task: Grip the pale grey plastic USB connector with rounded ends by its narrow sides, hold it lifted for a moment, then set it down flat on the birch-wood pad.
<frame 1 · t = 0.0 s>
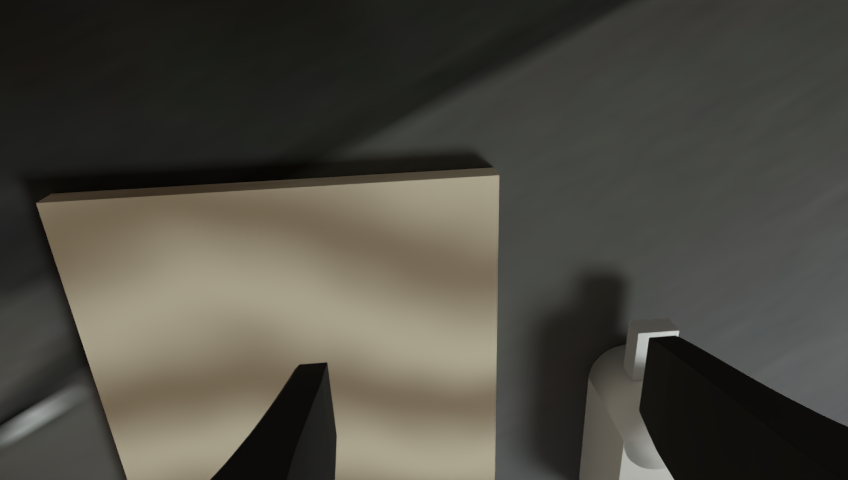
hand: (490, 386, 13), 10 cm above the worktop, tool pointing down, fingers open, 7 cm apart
usb connector: (617, 426, 27), on the worktop
wood pad: (306, 381, 24), on the worktop
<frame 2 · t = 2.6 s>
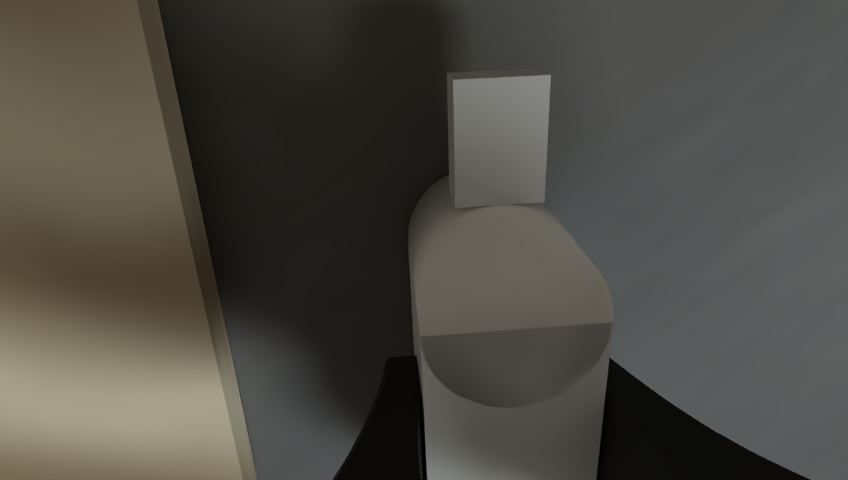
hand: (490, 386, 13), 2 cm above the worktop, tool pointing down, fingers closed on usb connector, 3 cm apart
usb connector: (478, 345, 14), on the worktop, touching gripper
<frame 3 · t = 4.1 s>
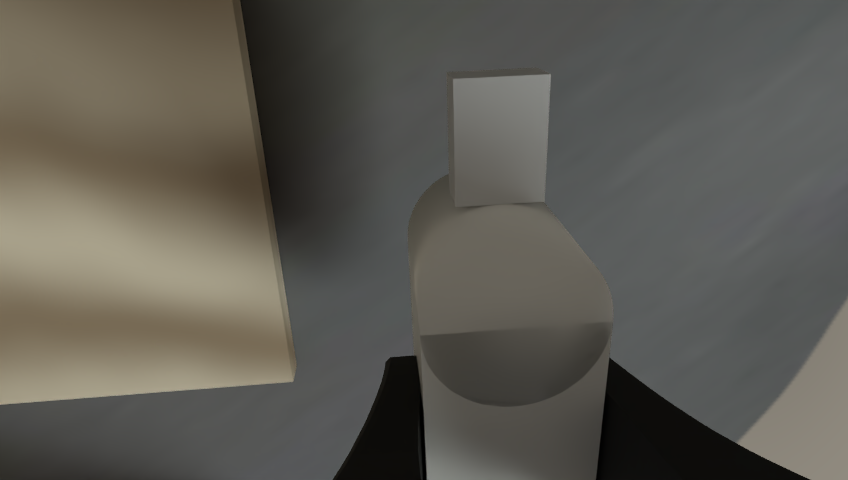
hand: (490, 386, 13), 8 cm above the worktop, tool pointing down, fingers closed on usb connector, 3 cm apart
usb connector: (477, 345, 14), point 7 cm above the worktop, touching gripper
wood pad: (6, 150, 18), on the worktop
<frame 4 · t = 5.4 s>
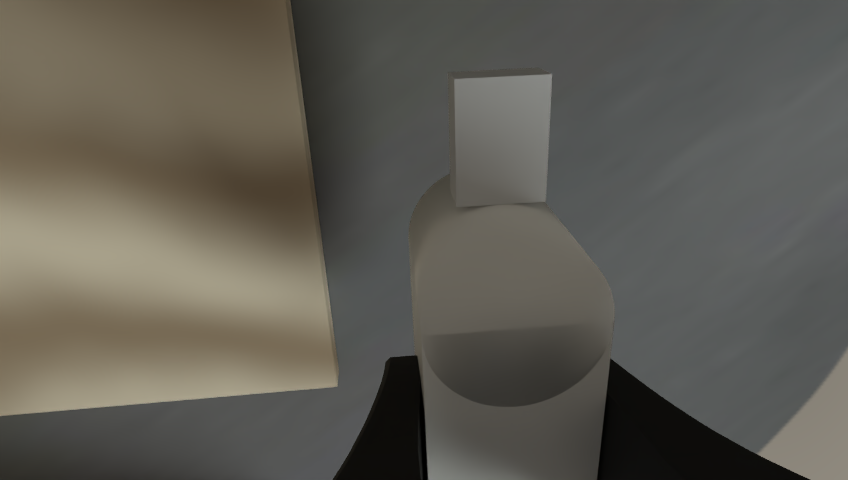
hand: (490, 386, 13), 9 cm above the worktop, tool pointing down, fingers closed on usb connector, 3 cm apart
usb connector: (478, 345, 14), point 7 cm above the worktop, touching gripper
wood pad: (61, 163, 18), on the worktop
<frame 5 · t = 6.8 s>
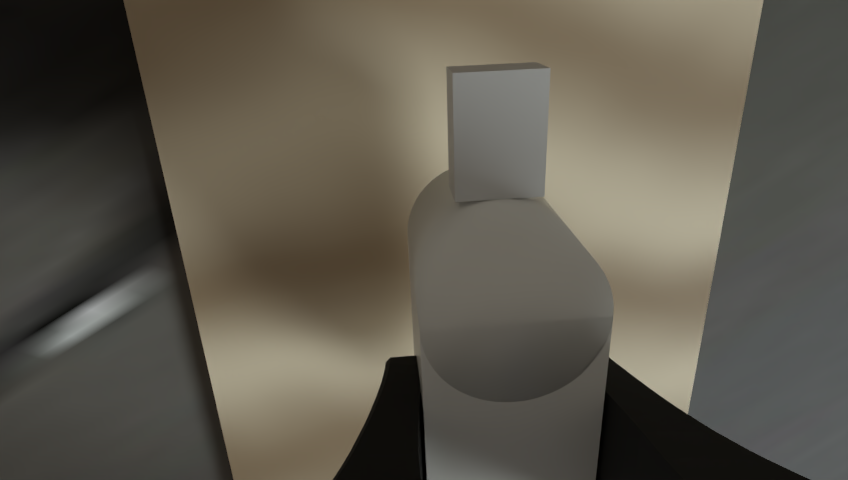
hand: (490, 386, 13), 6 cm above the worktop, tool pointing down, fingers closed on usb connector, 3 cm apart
usb connector: (477, 341, 14), point 4 cm above the worktop, touching gripper
wood pad: (456, 268, 18), on the worktop
when the fingers open (4 cm above the worktop, at t = 8.0 s): usb connector drops 1 cm, resting on wood pad.
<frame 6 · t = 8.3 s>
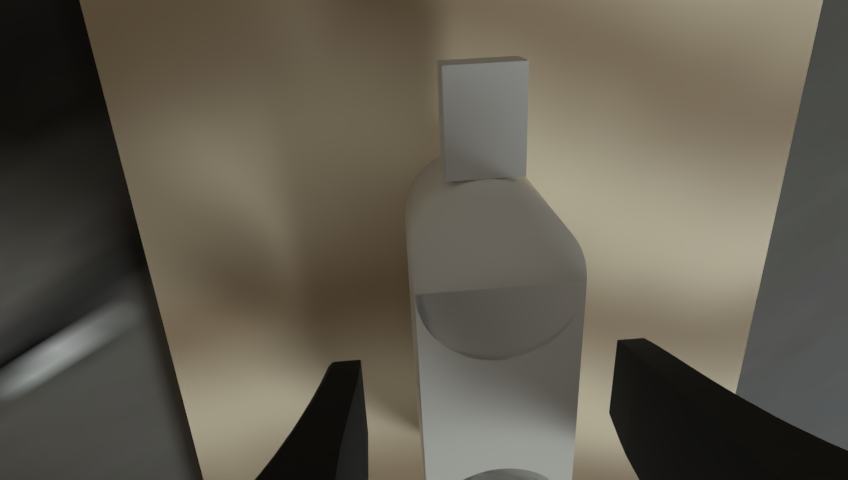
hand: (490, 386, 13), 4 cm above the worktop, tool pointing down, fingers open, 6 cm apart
usb connector: (470, 315, 15), point 1 cm above the worktop, touching wood pad
wood pad: (465, 300, 16), on the worktop
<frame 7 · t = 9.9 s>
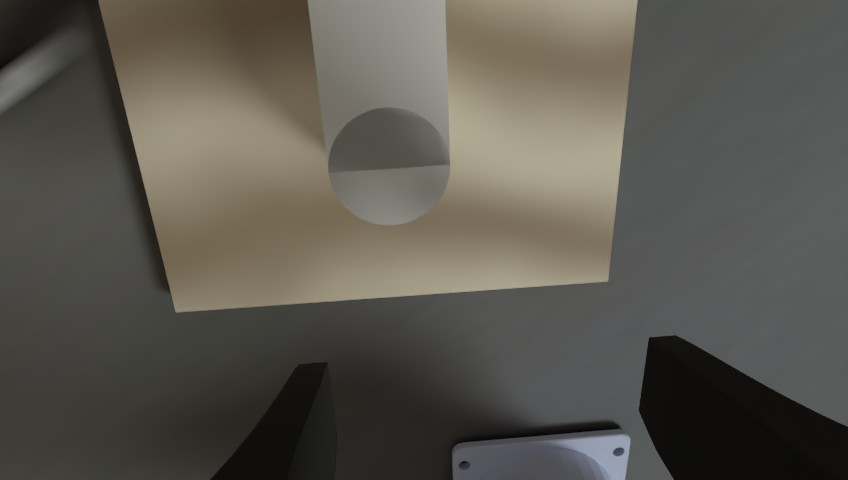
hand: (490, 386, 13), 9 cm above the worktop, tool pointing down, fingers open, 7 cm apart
usb connector: (379, 36, 17), point 1 cm above the worktop, touching wood pad
wood pad: (379, 37, 18), on the worktop
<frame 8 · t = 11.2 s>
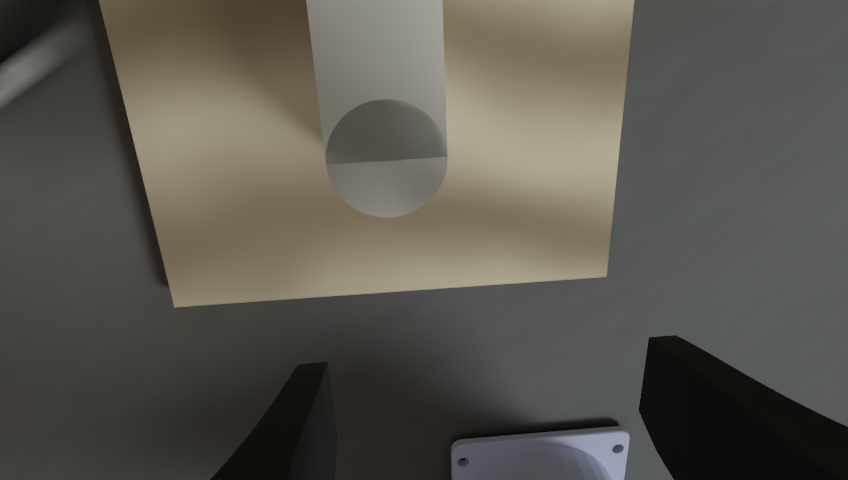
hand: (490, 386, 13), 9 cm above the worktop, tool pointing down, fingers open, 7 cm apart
usb connector: (377, 30, 17), point 1 cm above the worktop, touching wood pad
wood pad: (377, 31, 18), on the worktop
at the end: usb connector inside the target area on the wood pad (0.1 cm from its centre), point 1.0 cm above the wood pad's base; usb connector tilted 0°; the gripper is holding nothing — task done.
